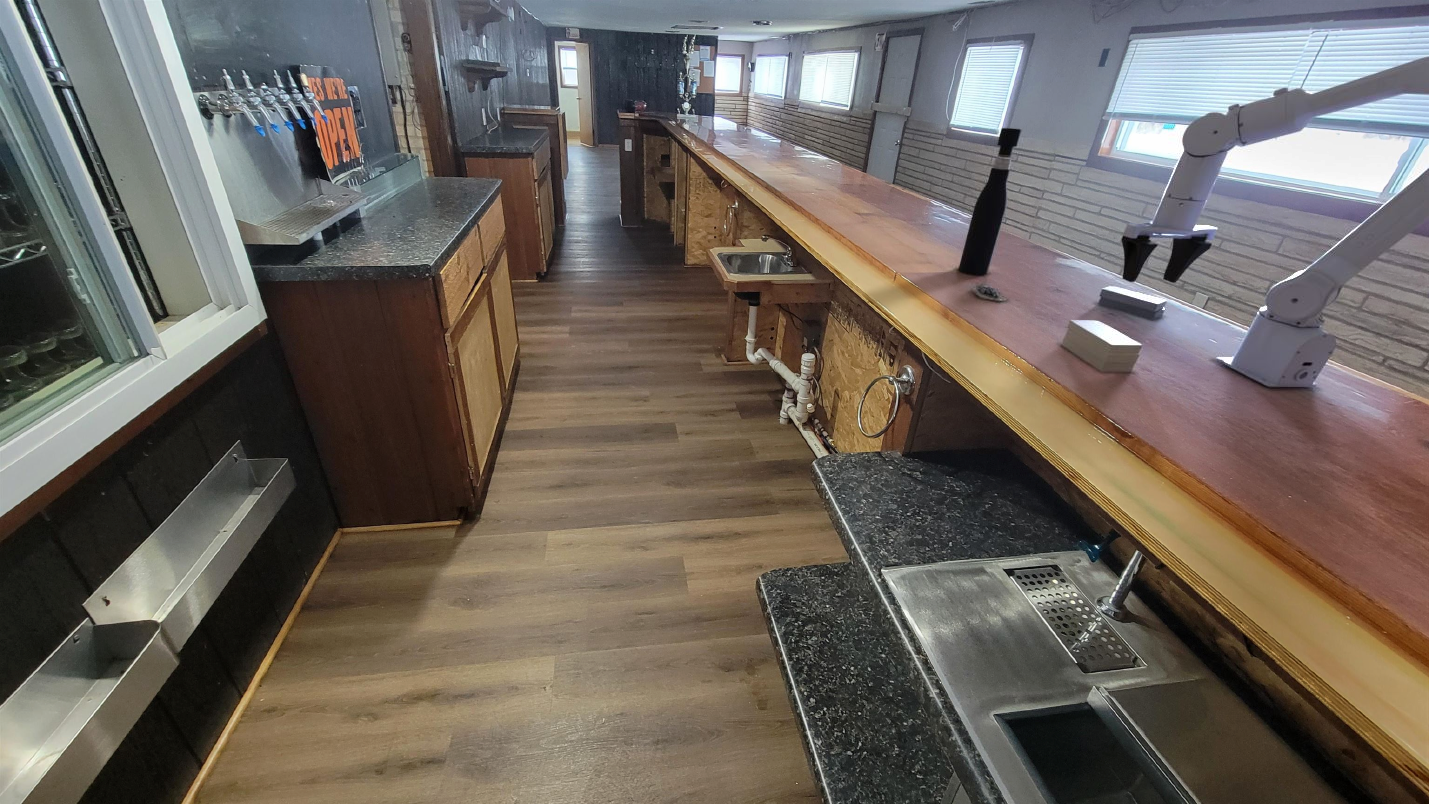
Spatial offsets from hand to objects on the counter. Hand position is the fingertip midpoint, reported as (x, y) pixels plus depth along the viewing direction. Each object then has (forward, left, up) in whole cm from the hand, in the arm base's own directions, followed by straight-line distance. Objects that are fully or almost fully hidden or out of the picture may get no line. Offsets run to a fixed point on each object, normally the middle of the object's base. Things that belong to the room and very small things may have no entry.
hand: (1148, 280), depth 97 cm
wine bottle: (+36, +11, -10) cm, 39 cm away
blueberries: (+19, +16, -10) cm, 27 cm away
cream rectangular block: (-11, +14, -9) cm, 20 cm away
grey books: (+11, -9, -9) cm, 17 cm away
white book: (-11, +14, -6) cm, 19 cm away
